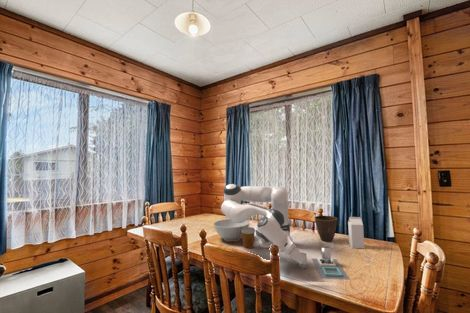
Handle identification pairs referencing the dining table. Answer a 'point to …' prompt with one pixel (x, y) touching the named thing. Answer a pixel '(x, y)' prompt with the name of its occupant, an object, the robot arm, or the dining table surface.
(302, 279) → the dining table surface
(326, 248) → the grey tall round-topped piece
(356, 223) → the milk carton
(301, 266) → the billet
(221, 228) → the decorative bowl
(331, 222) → the plant pot
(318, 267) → the grey flat plate
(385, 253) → the dining table surface
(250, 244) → the disposable coffee cup
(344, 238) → the dining table surface
